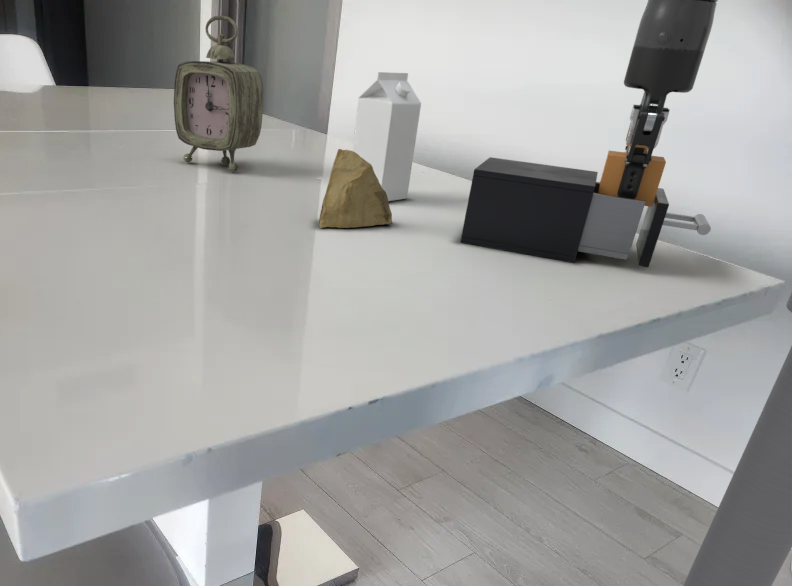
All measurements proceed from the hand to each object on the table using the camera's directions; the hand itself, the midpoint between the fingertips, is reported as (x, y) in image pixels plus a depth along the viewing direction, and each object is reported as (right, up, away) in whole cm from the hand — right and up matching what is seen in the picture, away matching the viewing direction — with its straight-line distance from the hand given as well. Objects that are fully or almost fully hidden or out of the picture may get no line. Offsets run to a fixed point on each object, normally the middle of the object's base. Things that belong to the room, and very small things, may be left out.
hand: (625, 193), depth 86 cm
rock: (-34, -2, +9) cm, 35 cm away
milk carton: (-28, +6, +27) cm, 39 cm away
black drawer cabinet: (-11, -5, +7) cm, 14 cm away
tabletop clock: (-56, +16, +41) cm, 71 cm away
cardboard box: (0, -1, 0) cm, 1 cm away
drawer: (0, -7, +3) cm, 7 cm away
